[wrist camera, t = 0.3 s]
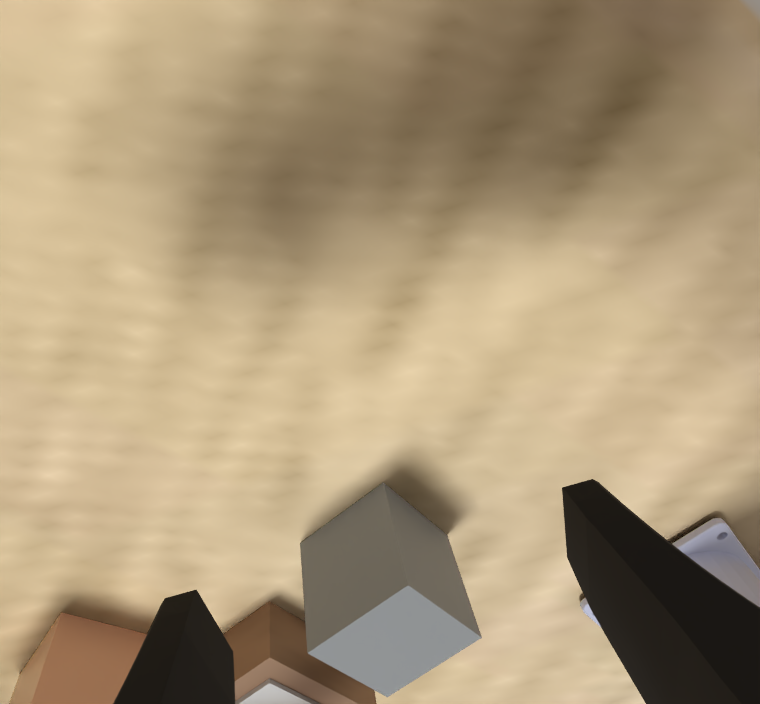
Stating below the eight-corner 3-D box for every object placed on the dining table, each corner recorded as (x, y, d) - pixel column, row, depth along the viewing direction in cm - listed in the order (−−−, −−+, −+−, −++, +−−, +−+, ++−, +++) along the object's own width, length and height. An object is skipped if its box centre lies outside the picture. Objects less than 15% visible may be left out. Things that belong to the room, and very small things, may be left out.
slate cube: (446, 534, 26) (481, 637, 22) (368, 587, 27) (387, 697, 23) (382, 481, 24) (408, 585, 20) (300, 542, 25) (307, 653, 21)
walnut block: (368, 653, 30) (378, 718, 27) (267, 719, 32) (267, 787, 29) (269, 594, 27) (269, 662, 24) (161, 671, 28) (150, 743, 26)
